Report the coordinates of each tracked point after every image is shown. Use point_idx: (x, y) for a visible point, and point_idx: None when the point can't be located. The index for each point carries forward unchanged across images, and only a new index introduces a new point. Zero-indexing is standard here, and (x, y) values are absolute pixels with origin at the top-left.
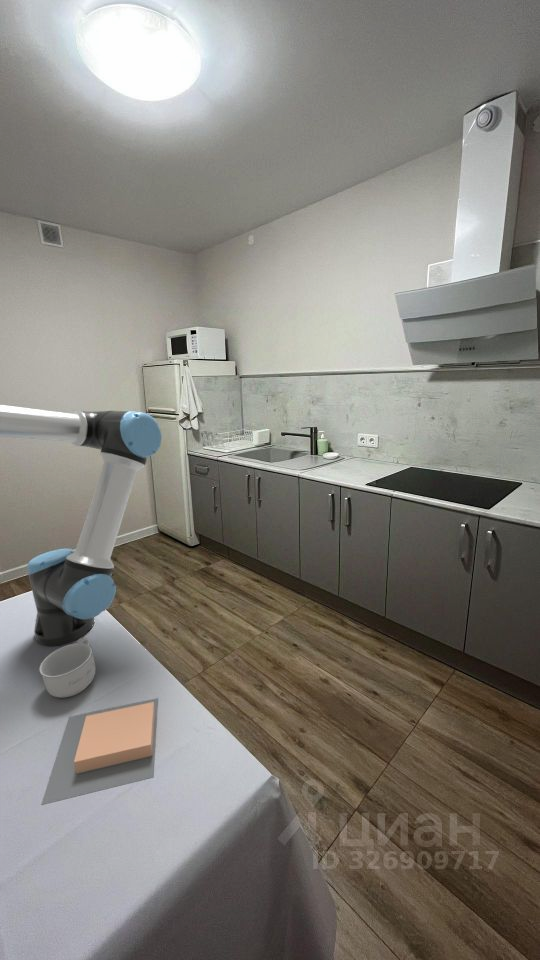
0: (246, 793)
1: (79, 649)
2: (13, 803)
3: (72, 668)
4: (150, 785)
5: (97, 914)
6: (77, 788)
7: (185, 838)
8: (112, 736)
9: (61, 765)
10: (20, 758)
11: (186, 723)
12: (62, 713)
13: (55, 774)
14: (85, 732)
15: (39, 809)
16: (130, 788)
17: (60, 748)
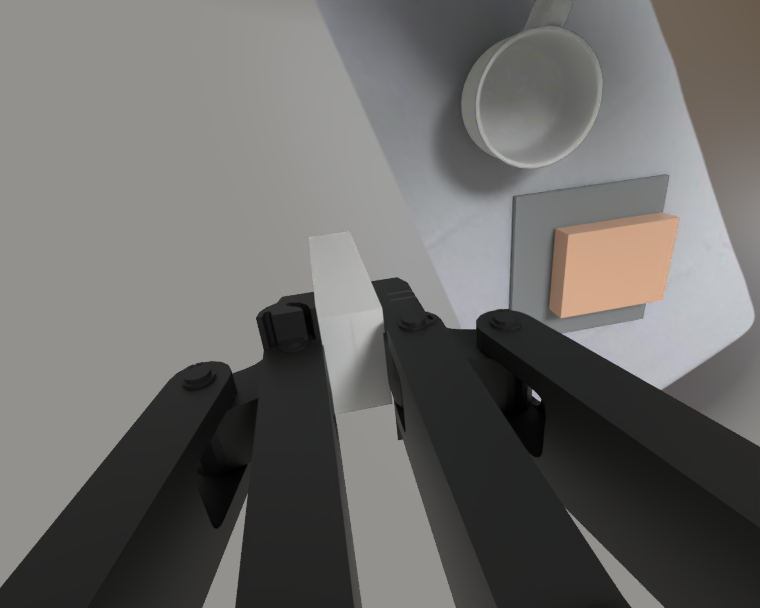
0: (731, 338)
1: (552, 35)
2: None
3: (503, 50)
4: (634, 322)
5: None
6: (551, 325)
7: (660, 376)
8: (611, 281)
9: (523, 291)
10: (453, 267)
11: (696, 232)
12: (497, 179)
13: (518, 304)
14: (571, 269)
15: None
16: (611, 324)
17: (516, 263)
